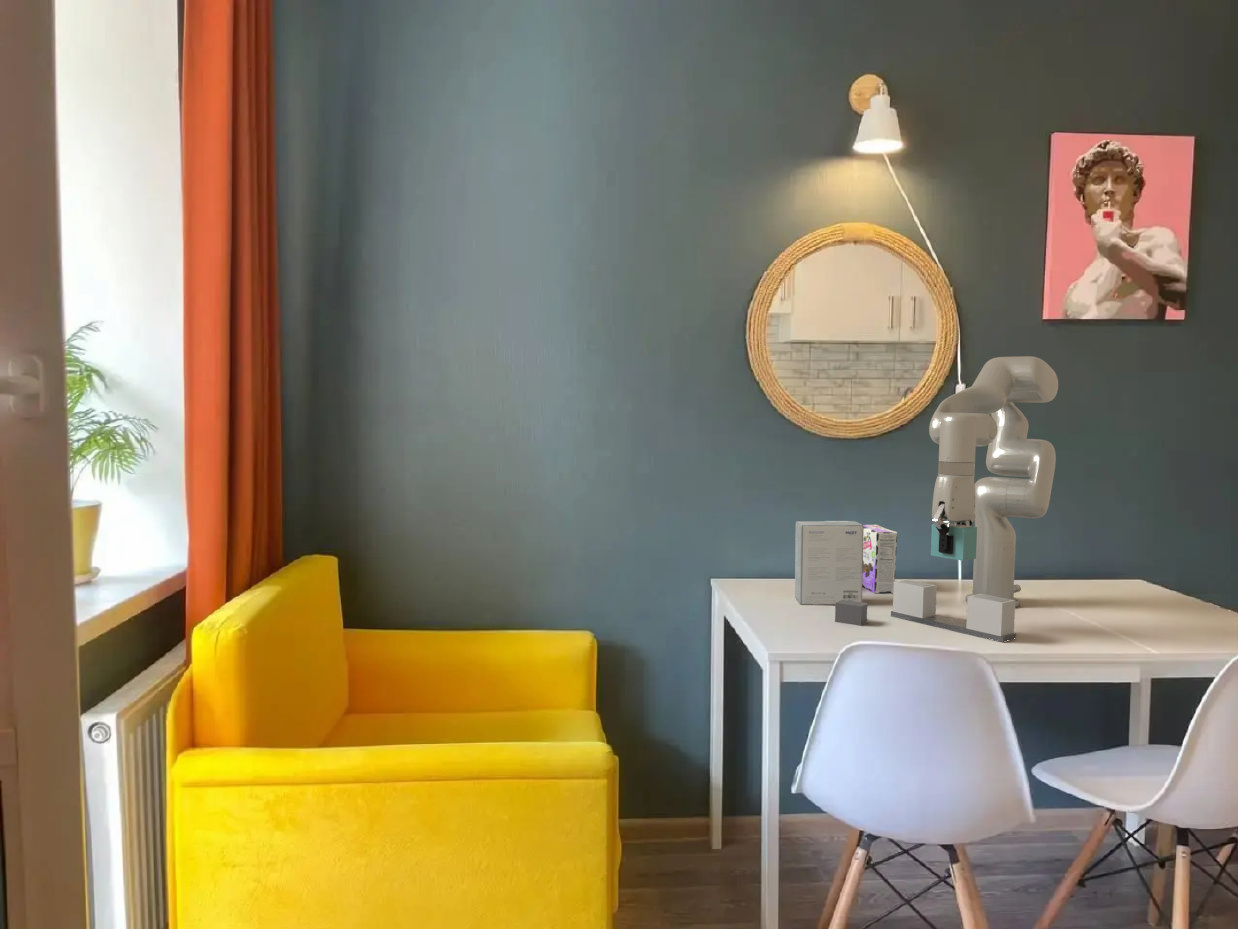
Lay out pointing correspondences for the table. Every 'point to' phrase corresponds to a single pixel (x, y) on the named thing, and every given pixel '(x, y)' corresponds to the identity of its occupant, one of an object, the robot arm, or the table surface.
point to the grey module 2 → (990, 614)
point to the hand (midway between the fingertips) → (953, 551)
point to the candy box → (879, 558)
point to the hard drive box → (828, 562)
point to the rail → (952, 626)
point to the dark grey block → (851, 612)
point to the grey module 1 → (914, 598)
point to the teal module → (957, 542)
